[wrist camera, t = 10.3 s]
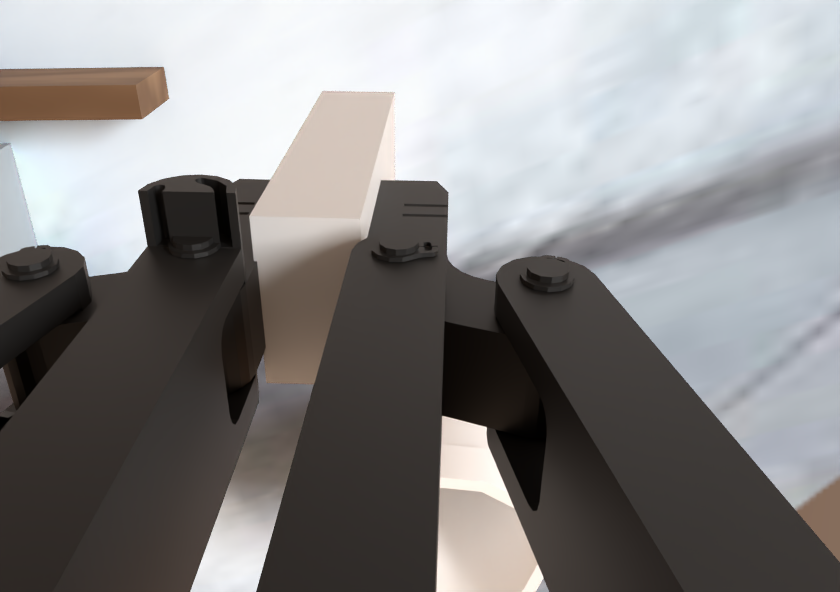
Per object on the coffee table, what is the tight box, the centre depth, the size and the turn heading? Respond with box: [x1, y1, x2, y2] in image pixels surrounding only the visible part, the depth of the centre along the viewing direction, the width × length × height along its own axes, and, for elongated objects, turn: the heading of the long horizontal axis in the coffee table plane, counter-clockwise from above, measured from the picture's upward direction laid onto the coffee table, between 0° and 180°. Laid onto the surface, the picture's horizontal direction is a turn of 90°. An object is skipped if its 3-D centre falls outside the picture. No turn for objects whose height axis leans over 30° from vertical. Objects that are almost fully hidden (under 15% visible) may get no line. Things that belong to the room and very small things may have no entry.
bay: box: [0, 67, 169, 121], centre depth 41 cm, size 14×18×5 cm
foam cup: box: [436, 416, 543, 592], centre depth 43 cm, size 10×9×13 cm
